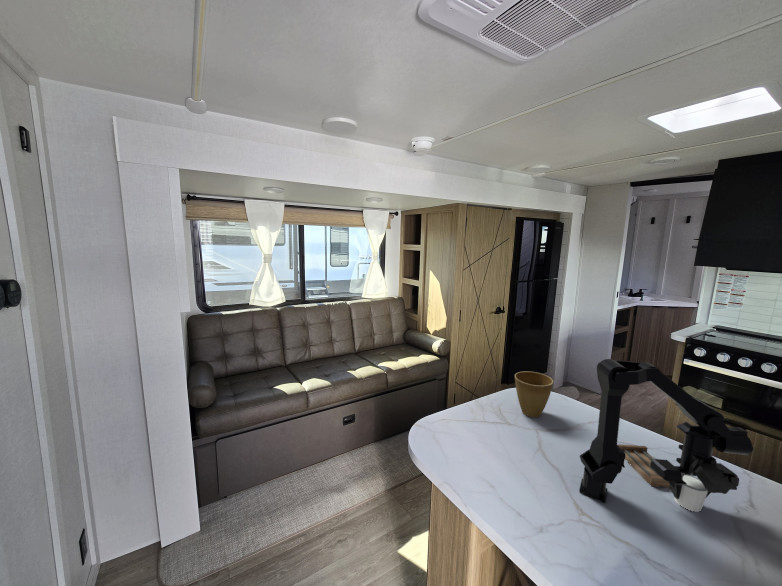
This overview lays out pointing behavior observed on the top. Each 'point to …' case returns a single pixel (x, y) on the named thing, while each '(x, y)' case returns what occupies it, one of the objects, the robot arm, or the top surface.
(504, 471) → the top surface
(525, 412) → the plant pot
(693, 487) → the white tapered cylinder
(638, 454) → the rack
